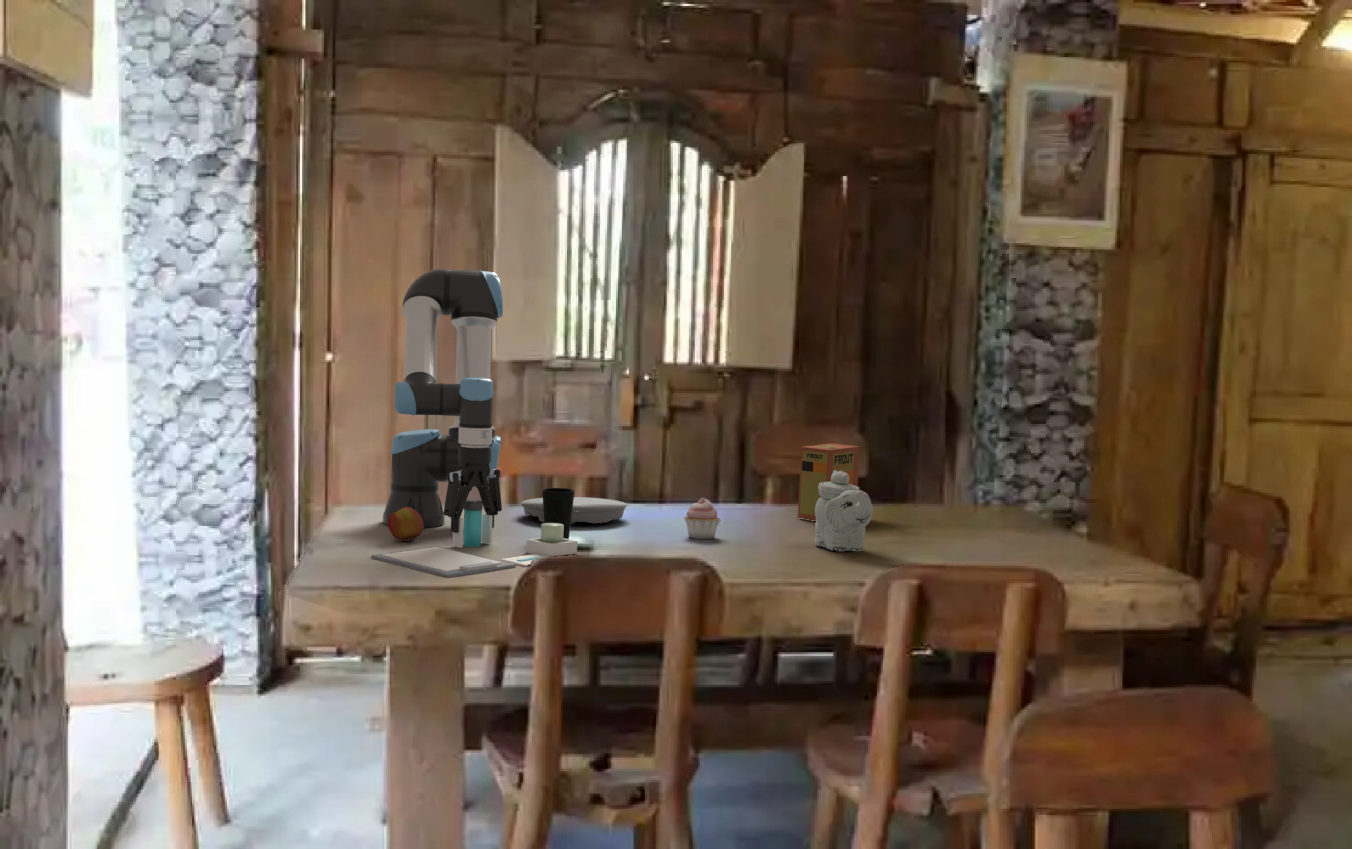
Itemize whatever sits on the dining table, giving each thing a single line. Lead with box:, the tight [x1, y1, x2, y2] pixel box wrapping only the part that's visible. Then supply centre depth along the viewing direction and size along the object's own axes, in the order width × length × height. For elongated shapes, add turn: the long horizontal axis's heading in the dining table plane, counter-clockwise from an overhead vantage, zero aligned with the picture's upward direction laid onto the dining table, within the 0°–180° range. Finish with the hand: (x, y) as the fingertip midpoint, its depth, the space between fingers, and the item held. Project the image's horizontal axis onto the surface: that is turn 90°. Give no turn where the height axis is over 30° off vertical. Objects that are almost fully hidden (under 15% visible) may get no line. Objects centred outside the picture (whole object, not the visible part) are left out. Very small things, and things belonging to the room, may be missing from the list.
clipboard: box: [370, 545, 517, 578], centre depth 283 cm, size 26×18×1 cm
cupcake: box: [683, 497, 722, 540], centre depth 328 cm, size 9×9×10 cm
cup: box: [541, 487, 575, 539], centre depth 316 cm, size 8×8×12 cm
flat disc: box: [520, 496, 628, 526], centre depth 348 cm, size 28×28×4 cm
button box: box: [525, 537, 578, 556], centre depth 299 cm, size 8×8×3 cm
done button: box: [540, 522, 564, 543], centre depth 298 cm, size 5×5×4 cm
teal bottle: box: [463, 499, 483, 548], centre depth 304 cm, size 4×4×10 cm
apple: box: [387, 507, 424, 542], centre depth 306 cm, size 8×8×8 cm
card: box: [500, 554, 544, 567], centre depth 289 cm, size 8×10×1 cm
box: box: [797, 443, 860, 520], centre depth 368 cm, size 17×9×20 cm, turn 144°
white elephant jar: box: [814, 470, 874, 552], centre depth 319 cm, size 16×15×19 cm
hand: (472, 544), depth 304 cm, fingers open, 8 cm apart
